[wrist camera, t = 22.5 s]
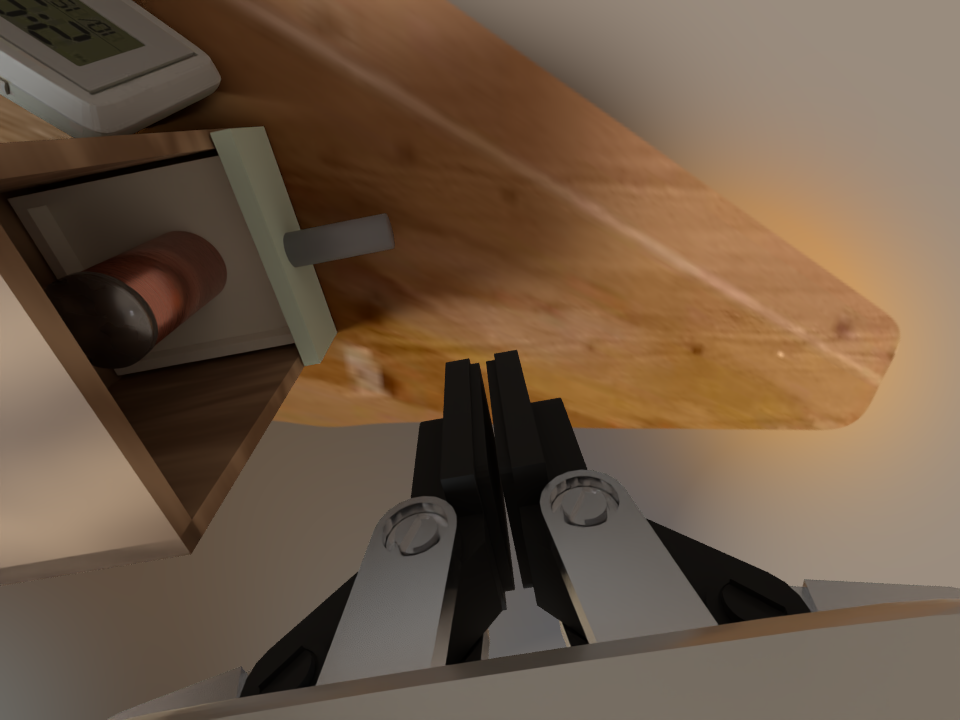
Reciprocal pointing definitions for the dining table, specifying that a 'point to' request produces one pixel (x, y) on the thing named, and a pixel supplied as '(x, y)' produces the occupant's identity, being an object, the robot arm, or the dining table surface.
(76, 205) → the green drawer
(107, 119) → the digital clock
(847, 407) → the dining table surface
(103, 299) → the tea tin
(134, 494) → the drawer cabinet
